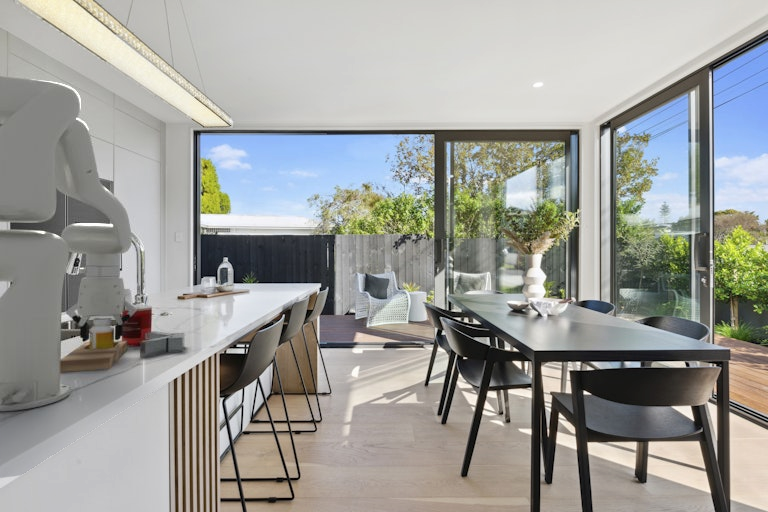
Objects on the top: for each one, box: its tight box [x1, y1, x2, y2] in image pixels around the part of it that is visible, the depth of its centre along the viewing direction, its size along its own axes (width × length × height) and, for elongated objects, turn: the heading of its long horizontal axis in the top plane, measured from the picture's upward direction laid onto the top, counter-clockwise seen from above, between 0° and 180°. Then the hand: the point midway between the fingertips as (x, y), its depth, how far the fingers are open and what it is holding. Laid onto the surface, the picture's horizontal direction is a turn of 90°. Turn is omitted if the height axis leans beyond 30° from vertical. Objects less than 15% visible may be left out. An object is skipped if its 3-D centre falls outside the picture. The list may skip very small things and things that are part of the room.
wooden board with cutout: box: [60, 340, 128, 373], centre depth 107 cm, size 20×10×2 cm, turn 21°
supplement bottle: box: [89, 317, 115, 349], centre depth 112 cm, size 5×5×10 cm
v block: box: [139, 330, 186, 358], centre depth 119 cm, size 10×16×4 cm, turn 21°
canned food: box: [121, 304, 153, 347], centre depth 126 cm, size 8×8×11 cm
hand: (101, 339), depth 112 cm, fingers open, 6 cm apart
